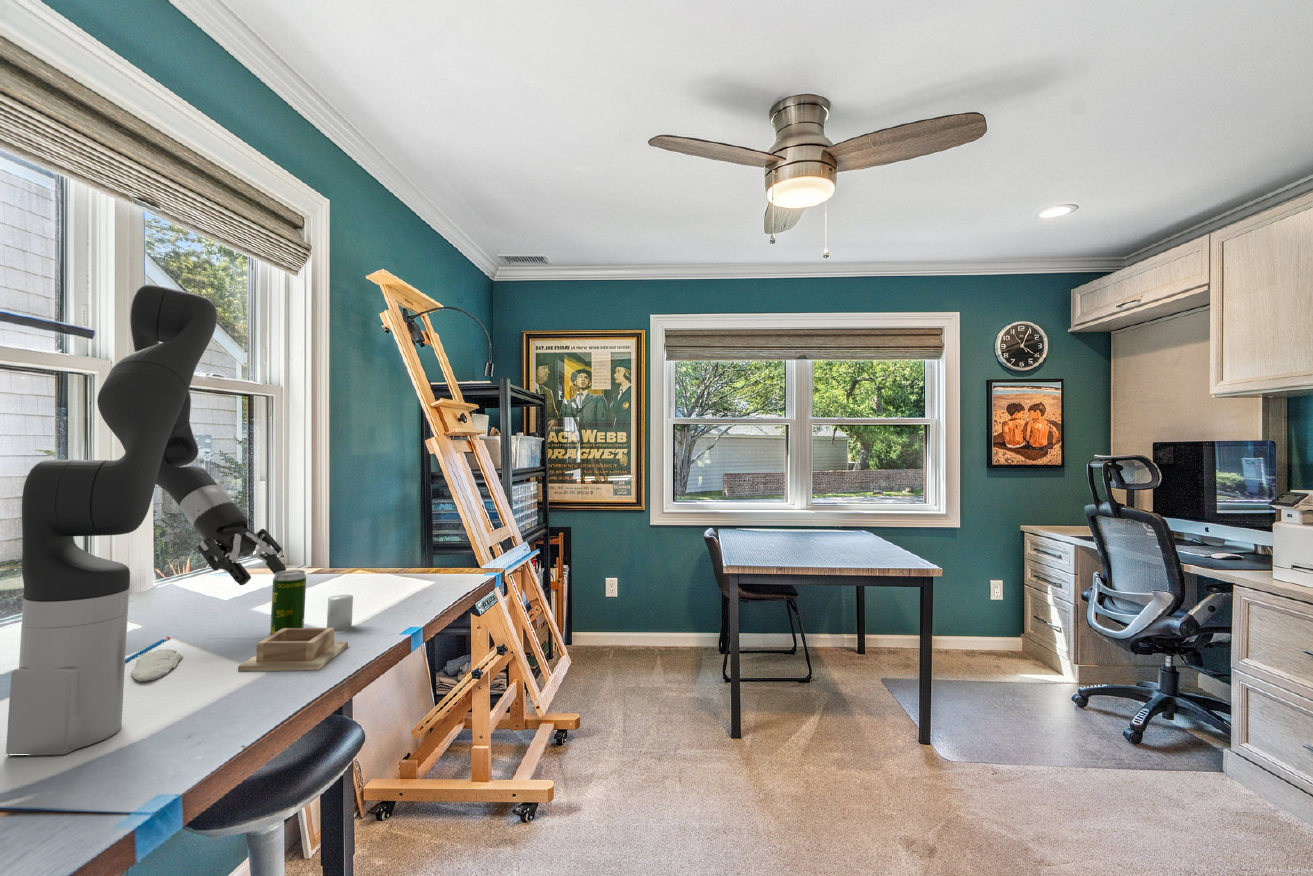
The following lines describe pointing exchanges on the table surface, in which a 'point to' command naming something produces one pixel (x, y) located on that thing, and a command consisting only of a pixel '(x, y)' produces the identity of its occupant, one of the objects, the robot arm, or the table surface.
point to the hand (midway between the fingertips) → (264, 577)
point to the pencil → (146, 649)
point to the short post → (340, 612)
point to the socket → (295, 650)
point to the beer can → (288, 600)
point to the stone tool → (155, 664)
